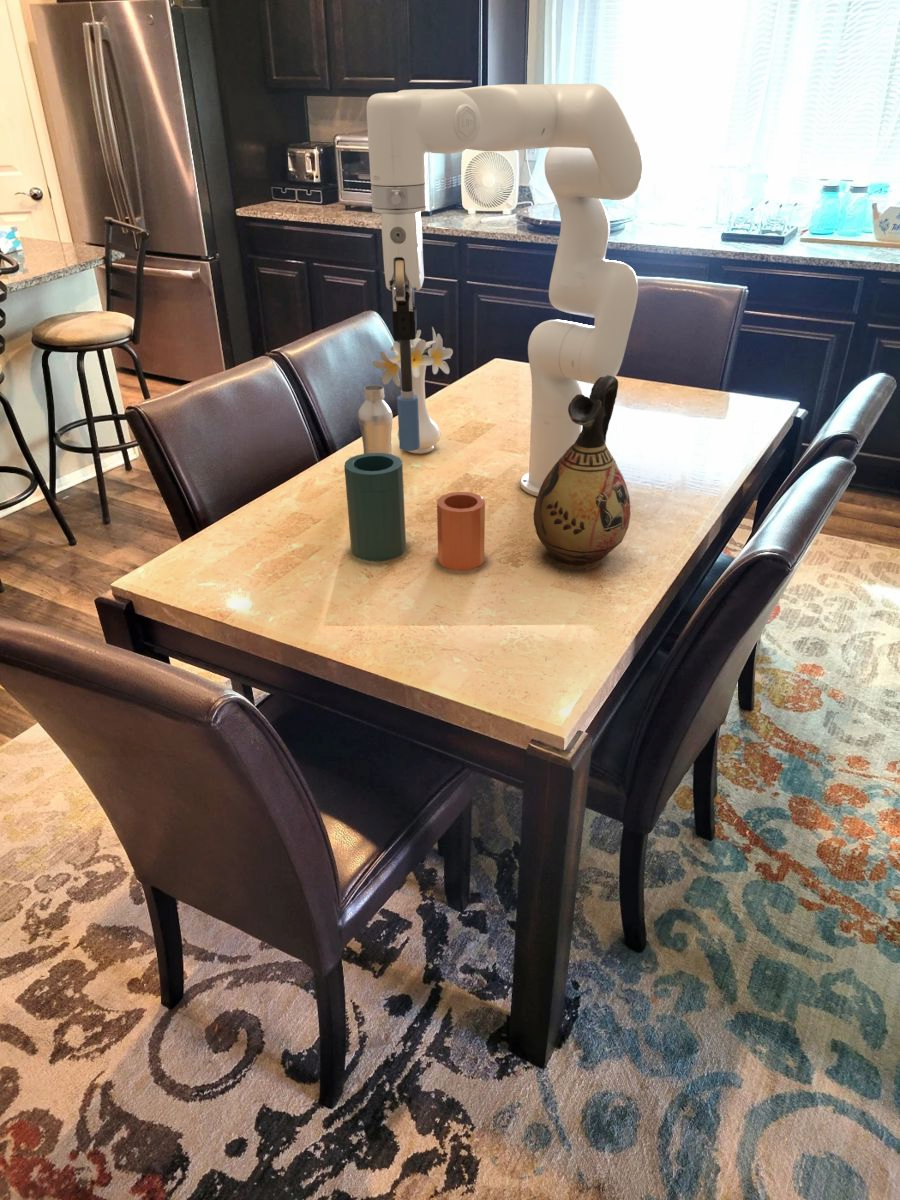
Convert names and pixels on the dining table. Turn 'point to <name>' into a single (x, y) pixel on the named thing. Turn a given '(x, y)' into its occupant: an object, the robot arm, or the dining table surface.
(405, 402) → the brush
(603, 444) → the ceramic jug
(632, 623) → the dining table surface
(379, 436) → the metal bottle
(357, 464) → the teal hollow cylinder
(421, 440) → the flower vase
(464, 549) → the crock
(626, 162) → the robot arm
